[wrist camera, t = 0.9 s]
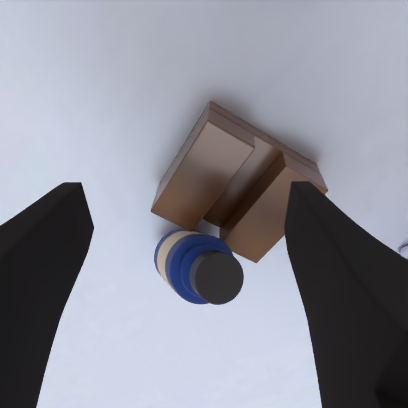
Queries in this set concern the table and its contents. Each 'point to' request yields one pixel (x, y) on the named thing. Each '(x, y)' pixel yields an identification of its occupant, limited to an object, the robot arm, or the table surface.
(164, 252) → the bottle
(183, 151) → the block
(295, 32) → the table surface
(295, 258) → the robot arm
